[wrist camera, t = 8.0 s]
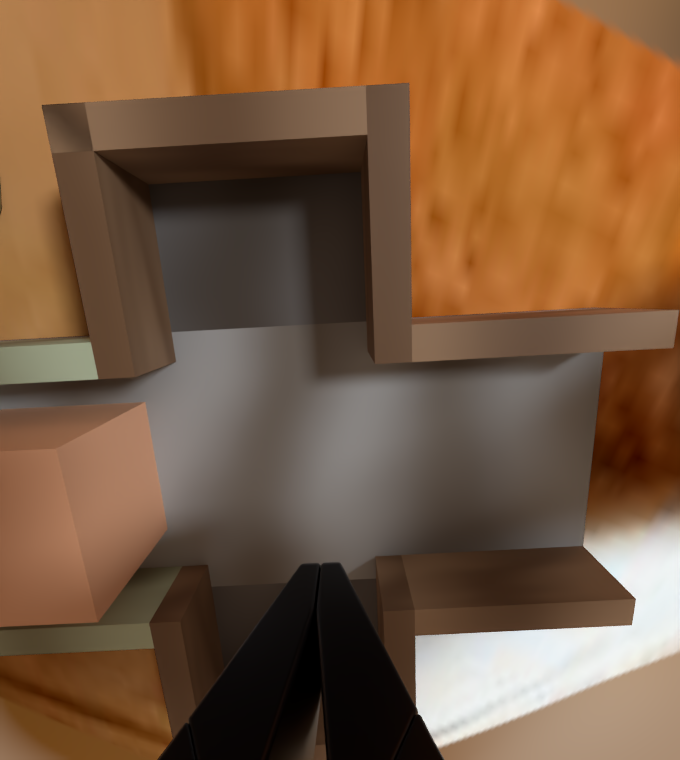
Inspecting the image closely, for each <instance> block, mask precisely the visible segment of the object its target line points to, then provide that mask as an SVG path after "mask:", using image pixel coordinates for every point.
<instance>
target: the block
mask: <svg viewBox="0 0 680 760" xmlns="http://www.w3.org/2000/svg"><path fill="white" fill-rule="evenodd" d="M167 529H168V528H167V522H166V516H165V511H164V505H163V500H162V494H161V488H160V483H159V477H158V471H157V466H156V460H155V454H154V449H153V443H152V437H151V432H150V426H149V420H148V415H147V409H146V404H145V402H135V403H115V404H96V405H76V406H56V407H37V408H17V409H2V410H0V627H8V626H30V625H51V624H72V623H94V622H99V620H100V619H101V618H102V616H103V615H104V614H105V612H106V611H107V610H108V608H109V607H110V606H111V604H112V603H113V602H114V600H115V599H116V598H117V596H118V595H119V594H120V592H121V591H122V590H123V588H124V587H125V586H126V584H127V583H128V582H129V580H130V579H131V577H132V576H133V575H134V573H135V572H136V571H137V569H138V568H139V567H140V565H141V564H142V563H143V561H144V560H145V559H146V557H147V556H148V555H149V553H150V552H151V551H152V549H153V548H154V547H155V545H156V544H157V543H158V541H159V540H160V539H161V537H162V536H163V535H164V533H165V532H166V531H167Z"/></svg>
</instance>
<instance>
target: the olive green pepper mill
mask: <svg viewBox="0 0 680 760" xmlns="http://www.w3.org/2000/svg"><path fill="white" fill-rule="evenodd" d="M1 209H2V205H1V187H0V213H1Z"/></svg>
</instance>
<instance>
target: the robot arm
mask: <svg viewBox="0 0 680 760" xmlns="http://www.w3.org/2000/svg"><path fill="white" fill-rule="evenodd" d="M321 693H322V707H323V720H324V733H325V746H326V759H327V760H444V758H443V756H442V755H441V753H440V751H439V749H438V747H437V746H436V744H435V742H434V740H433V738H432V736H431V734H430V733H429V731H428V729H427V727H426V725H425V723H424V721H423V719H422V717H421V716H420V715H419V714H418V711H417V708H416V706H415V704H414V702H413V700H412V698H411V697H410V695H409V693H408V691H407V689H406V687H405V685H404V683H403V681H402V679H401V677H400V675H399V674H398V672H397V670H396V668H395V666H394V664H393V662H392V660H391V658H390V656H389V654H388V652H387V650H386V649H385V647H384V645H383V643H382V641H381V639H380V637H379V635H378V633H377V631H376V629H375V627H374V625H373V624H372V622H371V620H370V618H369V616H368V614H367V612H366V610H365V608H364V606H363V604H362V602H361V600H360V599H359V597H358V595H357V593H356V591H355V589H354V587H353V585H352V583H351V581H350V579H349V577H348V575H347V574H346V572H345V570H344V568H343V566H342V564H341V563H340V562H324V563H322V565H320V564H319V563H303V564H301V565H300V566H299V567H298V568H297V570H296V571H295V573H294V574H293V575H292V577H291V578H290V579H289V581H288V582H287V584H286V585H285V586H284V588H283V589H282V590H281V592H280V593H279V595H278V596H277V597H276V599H275V600H274V601H273V603H272V604H271V606H270V607H269V608H268V610H267V611H266V612H265V614H264V615H263V617H262V618H261V619H260V621H259V622H258V623H257V625H256V626H255V627H254V629H253V630H252V632H251V633H250V634H249V636H248V637H247V638H246V640H245V641H244V643H243V644H242V645H241V647H240V648H239V649H238V651H237V652H236V654H235V655H234V656H233V658H232V659H231V660H230V662H229V663H228V665H227V666H226V667H225V669H224V670H223V671H222V673H221V674H220V676H219V677H218V678H217V680H216V681H215V682H214V684H213V685H212V686H211V688H210V689H209V691H208V692H207V693H206V695H205V696H204V697H203V699H202V700H201V702H200V703H199V704H198V706H197V707H196V708H195V710H194V711H193V713H192V714H191V715H190V717H189V719H188V723H189V724H188V723H185V724H183V726H182V727H181V729H180V730H179V731H178V733H177V734H176V736H175V737H174V738H173V740H172V741H171V742H170V744H169V745H168V746H167V748H166V749H165V751H164V752H163V753H162V754H161V756H160V757H159V758H158V760H313V759H314V751H315V743H316V735H317V726H318V718H319V710H320V700H321Z"/></svg>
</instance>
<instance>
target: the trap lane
mask: <svg viewBox="0 0 680 760" xmlns="http://www.w3.org/2000/svg"><path fill="white" fill-rule="evenodd" d="M42 109H43V114H44V119H45V124H46V129H47V134H48V138H49V143H50V148H51V153H52V158H53V163H54V167H55V172H56V177H57V182H58V187H59V191H60V196H61V201H62V206H63V211H64V216H65V220H66V225H67V230H68V235H69V240H70V245H71V249H72V254H73V259H74V264H75V269H76V273H77V278H78V283H79V288H80V293H81V298H82V302H83V307H84V312H85V317H86V322H87V327H88V331H89V336H75V337H57V338H39V339H21V340H3V341H0V410H2V409H17V408H37V407H56V406H76V405H96V404H115V403H135V402H145V404H146V409H147V415H148V420H149V426H150V432H151V437H152V443H153V449H154V454H155V460H156V466H157V471H158V477H159V483H160V488H161V494H162V500H163V505H164V511H165V516H166V522H167V528H168V529H167V531H166V532H165V533H164V535H163V536H162V537H161V539H160V540H159V541H158V543H157V544H156V545H155V547H154V548H153V549H152V551H151V552H150V553H149V555H148V556H147V557H146V559H145V560H144V561H143V563H142V564H141V565H140V567H139V568H138V569H137V571H136V572H135V573H134V575H133V576H132V577H131V579H130V580H129V582H128V583H127V584H126V586H125V587H124V588H123V590H122V591H121V592H120V594H119V595H118V596H117V598H116V599H115V600H114V602H113V603H112V604H111V606H110V607H109V608H108V610H107V611H106V612H105V614H104V615H103V616H102V618H101V619H100V620H99V622H94V623H72V624H51V625H30V626H8V627H0V656H11V655H31V654H52V653H72V652H92V651H113V650H133V649H153V648H154V650H155V655H156V659H157V664H158V669H159V674H160V679H161V683H162V688H163V693H164V698H165V703H166V708H167V712H168V717H169V722H170V727H171V732H172V737H173V738H174V737H175V736H176V734H177V733H178V731H179V730H180V729H181V727H182V726H183V724H185V723H188V719H189V717H190V715H191V714H192V713H193V711H194V710H195V708H196V707H197V706H198V704H199V703H200V702H201V700H202V699H203V697H204V696H205V695H206V693H207V692H208V691H209V689H210V688H211V686H212V685H213V684H214V682H215V681H216V680H217V678H218V677H219V676H220V674H221V673H222V671H223V670H224V669H225V667H226V666H227V665H228V663H229V662H230V660H231V659H232V658H233V656H234V655H235V654H236V652H237V651H238V649H239V648H240V647H241V645H242V644H243V643H244V641H245V640H246V638H247V637H248V636H249V634H250V633H251V632H252V630H253V629H254V627H255V626H256V625H257V623H258V622H259V621H260V619H261V618H262V617H263V615H264V614H265V612H266V611H267V610H268V608H269V607H270V606H271V604H272V603H273V601H274V600H275V599H276V597H277V596H278V595H279V593H280V592H281V590H282V589H283V588H284V586H285V585H286V584H287V582H288V581H289V579H290V578H291V577H292V575H293V574H294V573H295V571H296V570H297V568H298V567H299V566H300V565H301V564H303V563H319V564H320V565H322V563H324V562H340V563H341V564H342V566H343V568H344V570H345V572H346V574H347V575H348V577H349V579H350V581H351V583H352V585H353V587H354V589H355V591H356V593H357V595H358V597H359V599H360V600H361V602H362V604H363V606H364V608H365V610H366V612H367V614H368V616H369V618H370V620H371V622H372V624H373V625H374V627H375V629H376V631H377V633H378V635H379V637H380V639H381V641H382V643H383V645H384V647H385V649H386V650H387V652H388V654H389V656H390V658H391V660H392V662H393V664H394V666H395V668H396V670H397V672H398V674H399V675H400V677H401V679H402V681H403V683H404V685H405V687H406V689H407V691H408V693H409V695H410V697H411V698H412V700H413V702H414V704H415V706H416V682H415V636H418V635H439V634H459V633H479V632H500V631H520V630H540V629H561V628H581V627H602V626H622V625H632V620H633V614H634V607H635V601H636V599H635V598H634V597H633V596H632V595H631V594H630V593H629V592H628V591H627V590H626V589H625V588H624V587H623V586H622V585H621V584H620V583H619V582H618V581H617V580H616V579H615V578H614V577H613V576H612V575H611V574H610V573H609V572H608V571H607V570H606V569H605V568H604V567H603V566H602V565H601V564H600V563H599V562H598V561H597V560H596V559H595V558H594V557H593V556H592V555H591V554H590V553H589V552H588V551H587V550H586V549H585V548H584V547H583V539H584V530H585V520H586V511H587V502H588V493H589V483H590V474H591V465H592V455H593V446H594V437H595V428H596V418H597V409H598V400H599V390H600V381H601V372H602V363H603V353H604V352H607V351H626V350H644V349H663V348H674V341H675V335H676V328H677V321H678V315H679V310H664V309H627V308H581V309H562V310H544V311H526V312H508V313H490V314H472V315H454V316H436V317H418V318H412V297H411V200H410V104H409V83H401V84H384V85H367V86H351V87H334V88H317V89H301V90H284V91H267V92H251V93H234V94H217V95H201V96H184V97H167V98H151V99H134V100H118V101H101V102H84V103H68V104H51V105H42ZM188 724H189V723H188ZM313 760H327V759H326V746H325V733H324V720H323V707H322V693H321V700H320V710H319V718H318V726H317V735H316V743H315V751H314V759H313Z"/></svg>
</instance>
